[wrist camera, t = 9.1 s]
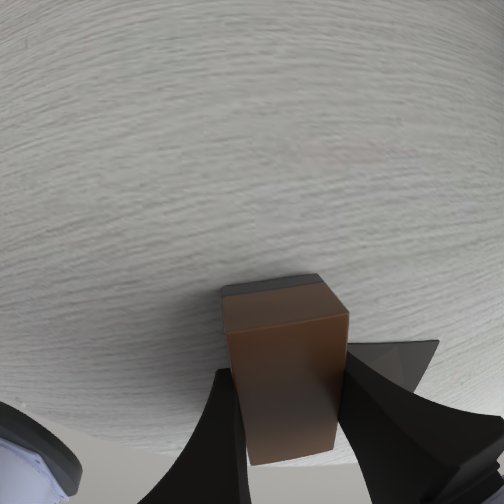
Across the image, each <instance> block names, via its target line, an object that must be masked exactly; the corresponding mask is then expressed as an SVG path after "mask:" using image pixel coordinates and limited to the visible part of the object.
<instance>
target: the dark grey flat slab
mask: <svg viewBox="0 0 504 504" xmlns="http://www.w3.org/2000/svg"><path fill="white" fill-rule="evenodd" d="M439 342H440V341H439V340H431V341H415V342H394V343H347V351H348V352H350V353H351V354H352V355H354V356H355V357H356V358H358V359H359V360H360V361H362V362H363V363H365V364H366V365H367V366H369V367H370V368H372V369H373V370H375V371H376V372H378V373H379V374H381V375H382V376H384V377H385V378H387V379H388V380H390V381H392V382H393V383H395V384H397V385H399V386H400V387H402V388H404V389H406V390H408V391H410V392H412V393H414V391H415V389H416V387H417V386H418V384H419V382H420V380H421V378H422V376H423V374H424V373H425V371H426V369H427V367H428V365H429V363H430V361H431V359H432V357H433V355H434V353H435V351H436V349H437V346H438V344H439Z"/></svg>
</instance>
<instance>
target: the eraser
mask: <svg viewBox="0 0 504 504" xmlns="http://www.w3.org/2000/svg"><path fill="white" fill-rule="evenodd" d="M221 292H222V308H223V324H224V336H225V341H226V347H227V352H228V358H229V363H230V369H231V374H232V379H233V384H234V389H235V390H236V394H237V399H238V404H239V409H240V414H241V419H242V424H243V429H244V434H245V438H246V447H247V452H248V456H249V461H250V464H251V466H254V465H261V464H268V463H274V462H280V461H285V460H290V459H295V458H300V457H305V456H309V455H314V454H318V453H322V452H326V451H330V450H333V448H334V442H335V436H336V430H337V424H338V418H339V411H340V404H341V396H342V389H343V380H344V371H345V362H346V351H347V340H348V327H349V311H348V310H347V309H346V307H345V306H344V305H343V304H342V303H341V301H340V300H339V299H338V298H337V296H336V295H335V294H334V293H333V292H332V290H331V289H330V288H329V287H328V285H327V284H326V283H325V282H324V281H323V279H322V278H321V277H320V276H319V275H318V274H317V273H315V274H309V275H302V276H296V277H289V278H282V279H275V280H268V281H261V282H254V283H247V284H239V285H232V286H224V287H222V288H221Z"/></svg>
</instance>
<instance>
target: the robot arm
mask: <svg viewBox="0 0 504 504" xmlns="http://www.w3.org/2000/svg"><path fill="white" fill-rule="evenodd" d="M338 422H339V424H340V426H341V428H342V430H343V432H344V434H345V436H346V438H347V439H348V441H349V443H350V445H351V447H352V449H353V451H354V453H355V456H356V458H357V460H358V463H359V465H360V468H361V471H362V473H363V477H364V479H365V482H366V485H367V488H368V491H369V495H370V498H371V501H372V504H504V475H502V476H501V475H500V474H499V472H498V471H497V470H498V469H499V467H500V464H499V463H498V462H497V458H498V457H499V456H500V455H501V453H502V452H503V451H504V419H503V418H502V417H501V416H494V415H485V414H477V413H471V412H467V411H462V410H458V409H454V408H450V407H447V406H444V405H441V404H438V403H435V402H432V401H430V400H427V399H425V398H423V397H420V396H418V395H416V394H414V393H412V392H410V391H408V390H406V389H404V388H402V387H400V386H399V385H397V384H395V383H393V382H392V381H390V380H388V379H387V378H385V377H384V376H382V375H381V374H379V373H378V372H376V371H375V370H373V369H372V368H370V367H369V366H367V365H366V364H365V363H363V362H362V361H360V360H359V359H358V358H356V357H355V356H354V355H352V354H351V353H350V352H348V351H346V362H345V371H344V380H343V389H342V396H341V404H340V411H339V418H338ZM61 500H62V501H65V502H69V501H70V499H69V497H68V496H67V495H66V493H65V492H64V491H63V489H62V488H61V486H60V485H59V483H58V482H57V481H56V479H55V478H54V476H53V475H52V473H51V472H50V470H49V468H48V467H47V465H46V464H45V462H44V461H43V459H42V457H41V456H40V455H39V454H38V453H36V452H34V451H31V450H29V449H26V448H24V447H21V446H19V445H17V444H15V443H12V442H10V441H8V440H6V439H4V438H2V437H0V504H60V501H61ZM137 504H252V503H251V498H250V492H249V485H248V476H247V456H246V438H245V434H244V429H243V424H242V419H241V414H240V409H239V404H238V399H237V394H236V390H235V389H234V384H233V379H232V374H231V369H230V368H223V369H218V370H217V371H216V372H215V378H214V382H213V386H212V389H211V392H210V395H209V398H208V401H207V403H206V406H205V408H204V411H203V413H202V416H201V418H200V420H199V422H198V424H197V426H196V428H195V430H194V432H193V434H192V436H191V438H190V439H189V441H188V443H187V444H186V446H185V448H184V449H183V451H182V452H181V454H180V455H179V457H178V458H177V460H176V461H175V463H174V464H173V465H172V467H171V468H170V469H169V471H168V472H167V473H166V474H165V475H164V477H163V478H162V479H161V480H160V481H159V482H158V483H157V485H156V486H155V487H154V488H153V489H152V490H151V491H150V492H149V493H148V494H147V495H146V496H145V497H144V498H143V499H142V500H140V501H139V502H138V503H137Z"/></svg>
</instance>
